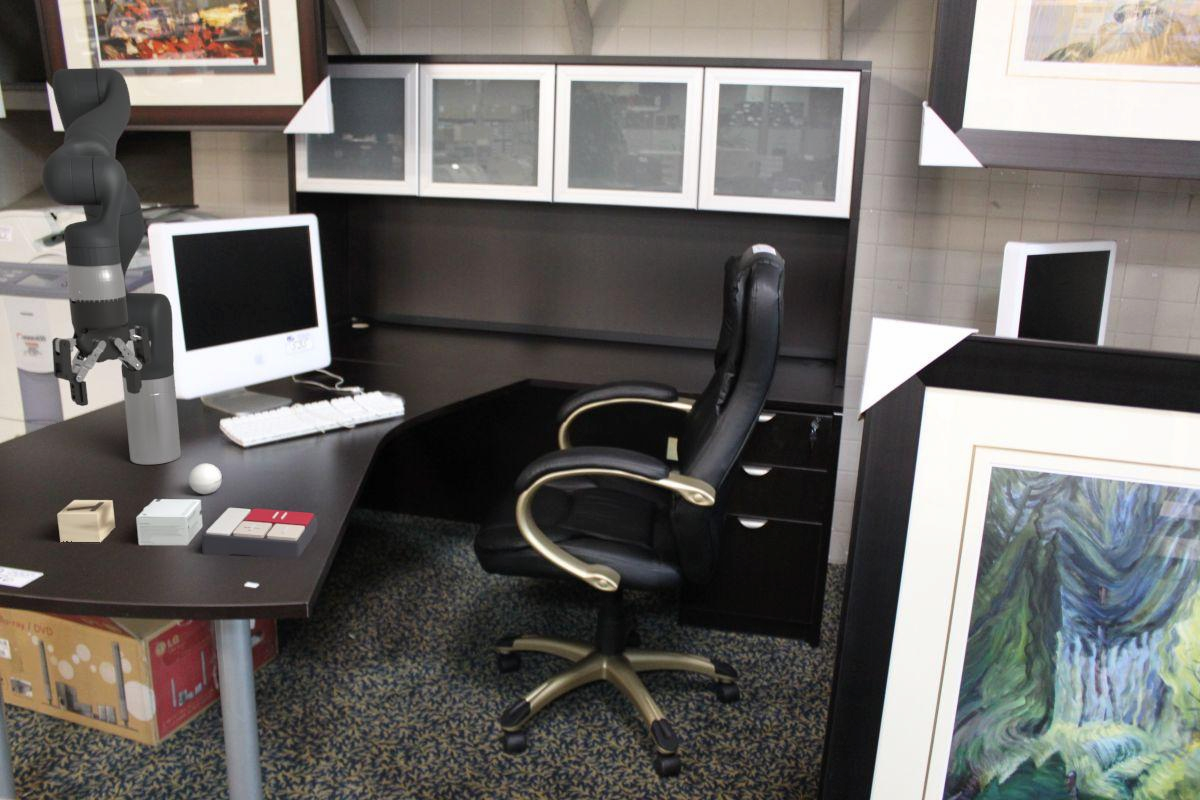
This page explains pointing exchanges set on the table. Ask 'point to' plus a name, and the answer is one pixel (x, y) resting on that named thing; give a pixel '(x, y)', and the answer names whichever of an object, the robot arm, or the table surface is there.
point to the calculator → (259, 533)
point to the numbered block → (86, 521)
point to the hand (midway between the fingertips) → (108, 398)
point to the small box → (169, 522)
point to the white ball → (205, 478)
